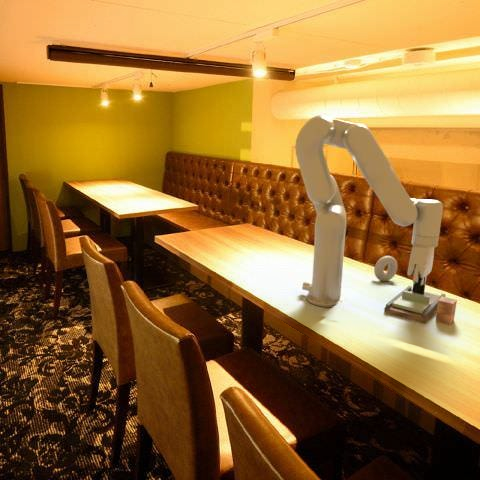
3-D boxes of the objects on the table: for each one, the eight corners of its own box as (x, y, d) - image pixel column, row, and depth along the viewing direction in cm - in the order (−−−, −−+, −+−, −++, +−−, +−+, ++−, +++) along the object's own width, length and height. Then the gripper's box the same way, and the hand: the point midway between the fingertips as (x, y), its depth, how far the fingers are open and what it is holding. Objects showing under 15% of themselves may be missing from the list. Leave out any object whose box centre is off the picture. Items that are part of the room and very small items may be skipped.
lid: (392, 305, 135) (393, 296, 134) (401, 298, 141) (402, 289, 140) (422, 314, 129) (424, 304, 128) (430, 305, 135) (432, 296, 134)
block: (434, 325, 129) (438, 300, 127) (439, 321, 132) (442, 296, 130) (449, 329, 127) (453, 303, 125) (453, 324, 130) (456, 299, 128)
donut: (377, 284, 162) (379, 258, 160) (371, 281, 166) (373, 255, 163) (398, 280, 166) (400, 255, 164) (391, 278, 169) (394, 253, 167)
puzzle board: (383, 316, 134) (385, 304, 133) (407, 296, 151) (409, 285, 150) (423, 328, 127) (425, 315, 126) (444, 305, 144) (446, 294, 143)
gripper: (419, 233, 142) (413, 286, 147) (404, 242, 131) (397, 299, 135) (444, 237, 138) (436, 292, 142) (430, 247, 126) (422, 306, 131)
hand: (417, 295), depth 139 cm, fingers closed
